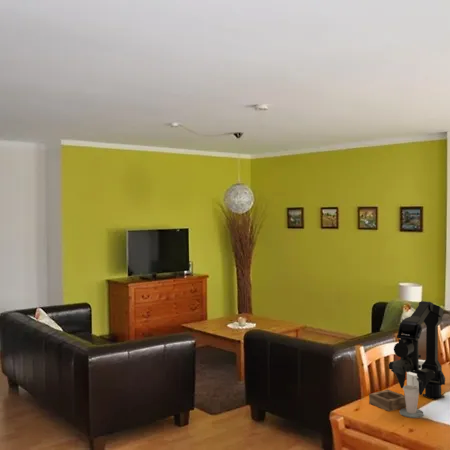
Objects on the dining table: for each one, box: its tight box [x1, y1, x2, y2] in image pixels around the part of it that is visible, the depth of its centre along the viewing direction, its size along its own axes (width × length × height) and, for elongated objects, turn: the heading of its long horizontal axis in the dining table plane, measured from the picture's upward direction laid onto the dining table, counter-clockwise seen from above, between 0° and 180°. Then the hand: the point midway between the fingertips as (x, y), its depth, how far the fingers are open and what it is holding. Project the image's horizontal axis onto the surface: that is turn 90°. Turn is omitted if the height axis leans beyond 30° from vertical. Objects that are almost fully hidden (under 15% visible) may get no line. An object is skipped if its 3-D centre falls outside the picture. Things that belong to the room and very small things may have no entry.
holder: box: [368, 389, 406, 412], centre depth 224 cm, size 11×11×4 cm
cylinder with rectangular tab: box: [406, 359, 426, 387], centre depth 249 cm, size 9×9×12 cm
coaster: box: [399, 407, 424, 419], centre depth 214 cm, size 9×9×1 cm
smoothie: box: [402, 377, 420, 413], centre depth 214 cm, size 6×6×14 cm
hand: (411, 391), depth 214 cm, fingers open, 9 cm apart
